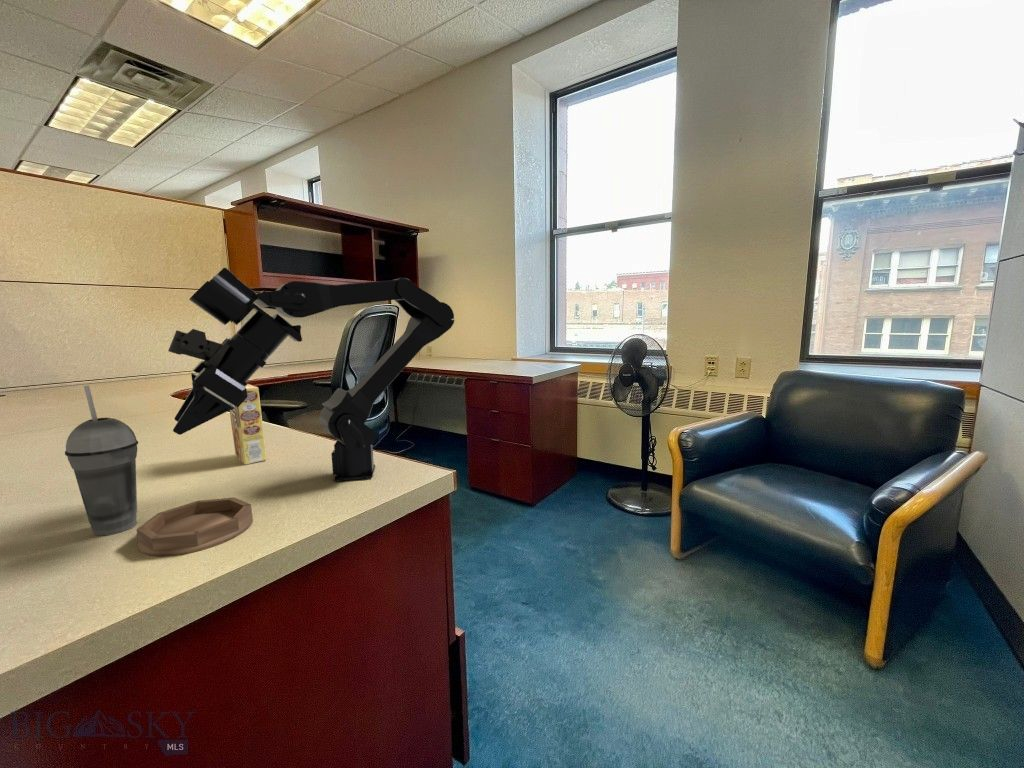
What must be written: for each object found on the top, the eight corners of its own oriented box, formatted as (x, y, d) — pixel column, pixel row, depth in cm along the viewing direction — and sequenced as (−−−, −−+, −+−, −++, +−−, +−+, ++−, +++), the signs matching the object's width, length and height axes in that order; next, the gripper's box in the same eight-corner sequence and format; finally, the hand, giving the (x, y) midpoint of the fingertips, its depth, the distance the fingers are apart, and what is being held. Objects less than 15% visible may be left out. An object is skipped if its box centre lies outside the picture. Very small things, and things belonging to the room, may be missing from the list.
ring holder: (265, 507, 66) (264, 493, 66) (231, 548, 54) (230, 532, 54) (171, 516, 64) (169, 501, 63) (113, 562, 52) (111, 544, 51)
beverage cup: (107, 543, 56) (83, 390, 53) (63, 538, 57) (37, 389, 55) (162, 518, 63) (143, 382, 60) (122, 514, 65) (102, 381, 62)
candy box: (267, 460, 89) (260, 386, 87) (244, 465, 86) (235, 389, 84) (255, 451, 95) (248, 382, 93) (233, 456, 92) (225, 385, 90)
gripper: (201, 311, 71) (125, 386, 67) (204, 307, 56) (107, 404, 52) (262, 354, 77) (196, 426, 73) (280, 361, 62) (198, 452, 58)
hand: (176, 426), depth 64 cm, fingers open, 9 cm apart
